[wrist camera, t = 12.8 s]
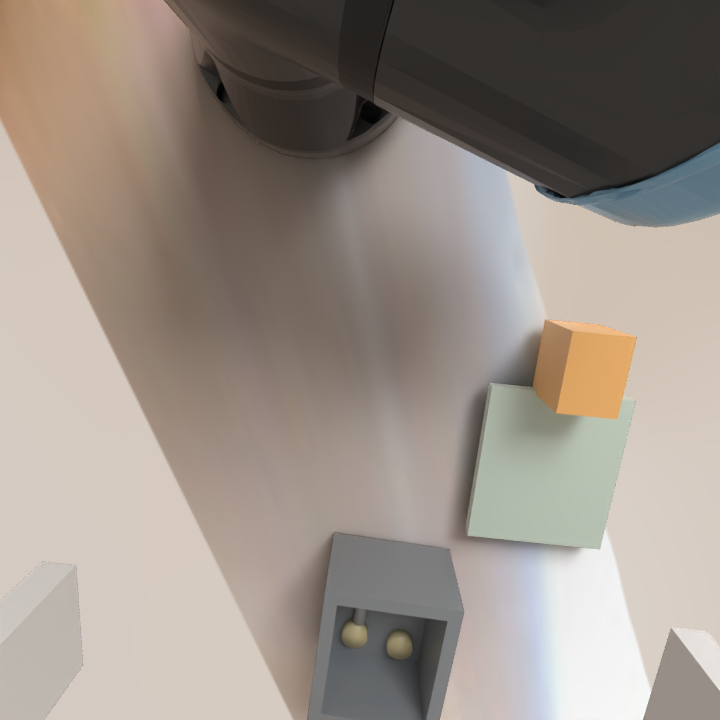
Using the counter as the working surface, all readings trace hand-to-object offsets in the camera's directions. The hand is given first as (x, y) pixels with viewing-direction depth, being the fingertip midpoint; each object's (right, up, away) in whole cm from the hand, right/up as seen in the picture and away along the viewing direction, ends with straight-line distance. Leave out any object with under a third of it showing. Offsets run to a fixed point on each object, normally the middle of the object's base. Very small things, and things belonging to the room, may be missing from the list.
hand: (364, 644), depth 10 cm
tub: (+2, -15, +31) cm, 34 cm away
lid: (+15, +1, +26) cm, 30 cm away
